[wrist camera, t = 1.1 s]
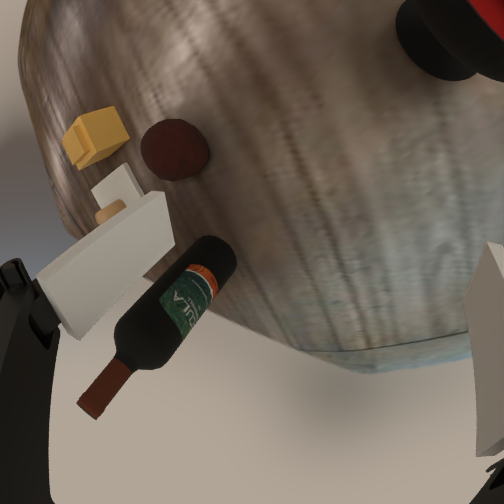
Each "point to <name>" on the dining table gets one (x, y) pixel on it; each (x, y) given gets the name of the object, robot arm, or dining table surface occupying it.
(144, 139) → the potato
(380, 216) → the dining table surface
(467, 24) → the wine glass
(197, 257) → the wine bottle
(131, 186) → the post plate
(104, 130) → the orange block
